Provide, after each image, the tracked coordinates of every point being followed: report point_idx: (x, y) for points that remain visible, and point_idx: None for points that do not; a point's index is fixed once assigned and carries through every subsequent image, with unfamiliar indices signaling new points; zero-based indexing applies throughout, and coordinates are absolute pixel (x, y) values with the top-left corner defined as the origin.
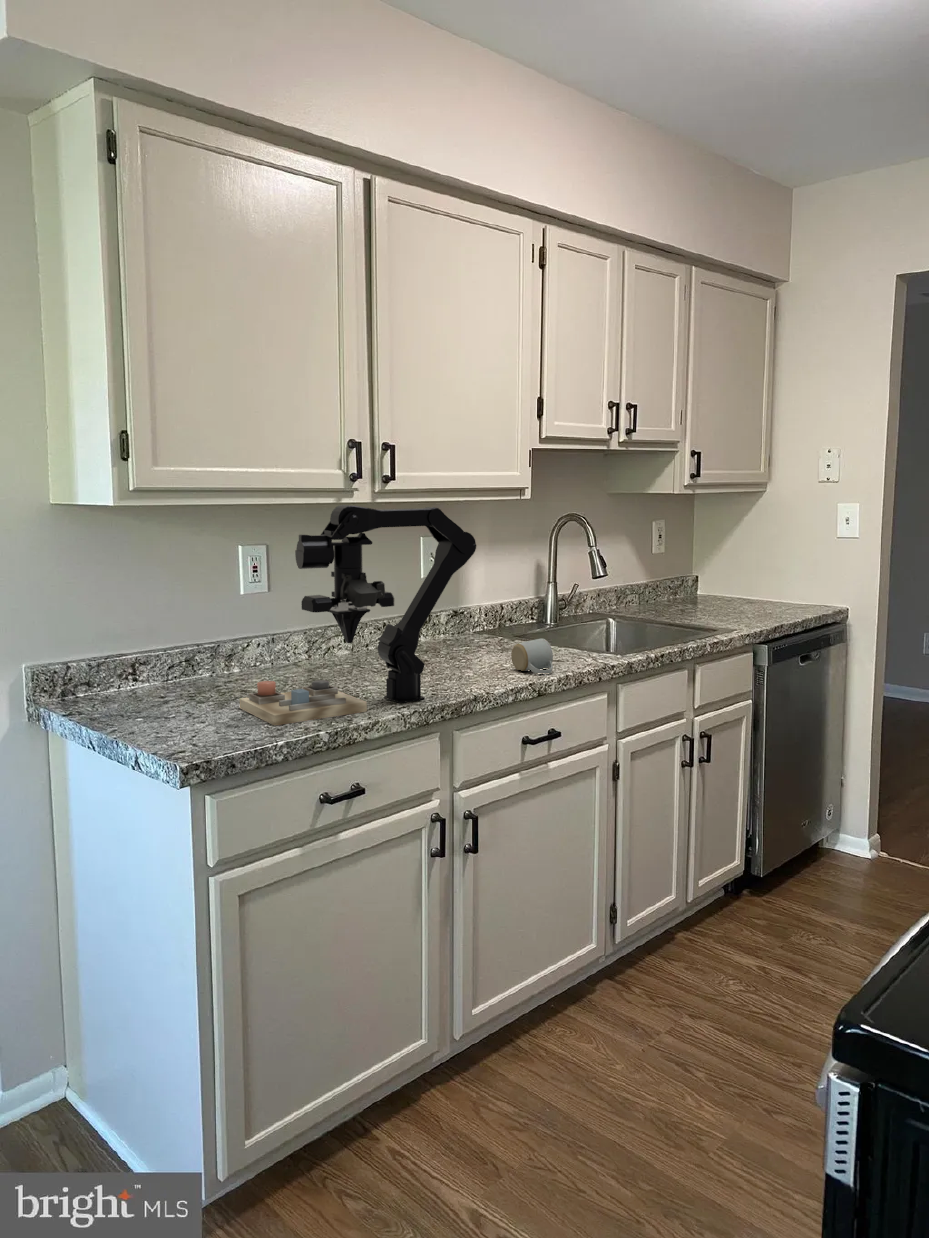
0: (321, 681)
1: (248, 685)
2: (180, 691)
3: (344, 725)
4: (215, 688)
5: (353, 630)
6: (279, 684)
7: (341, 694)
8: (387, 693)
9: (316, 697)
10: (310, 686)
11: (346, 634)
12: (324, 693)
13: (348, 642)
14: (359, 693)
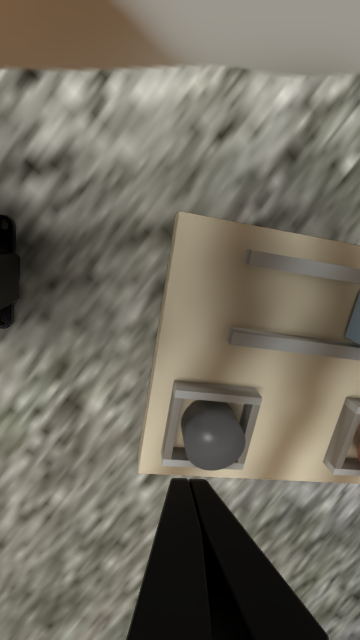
0: (208, 448)
1: None
2: (340, 637)
3: (348, 111)
4: None
5: (191, 593)
6: None
7: (172, 364)
8: (13, 294)
9: (299, 339)
10: None
11: (260, 557)
12: (224, 388)
13: (208, 483)
14: (41, 428)
